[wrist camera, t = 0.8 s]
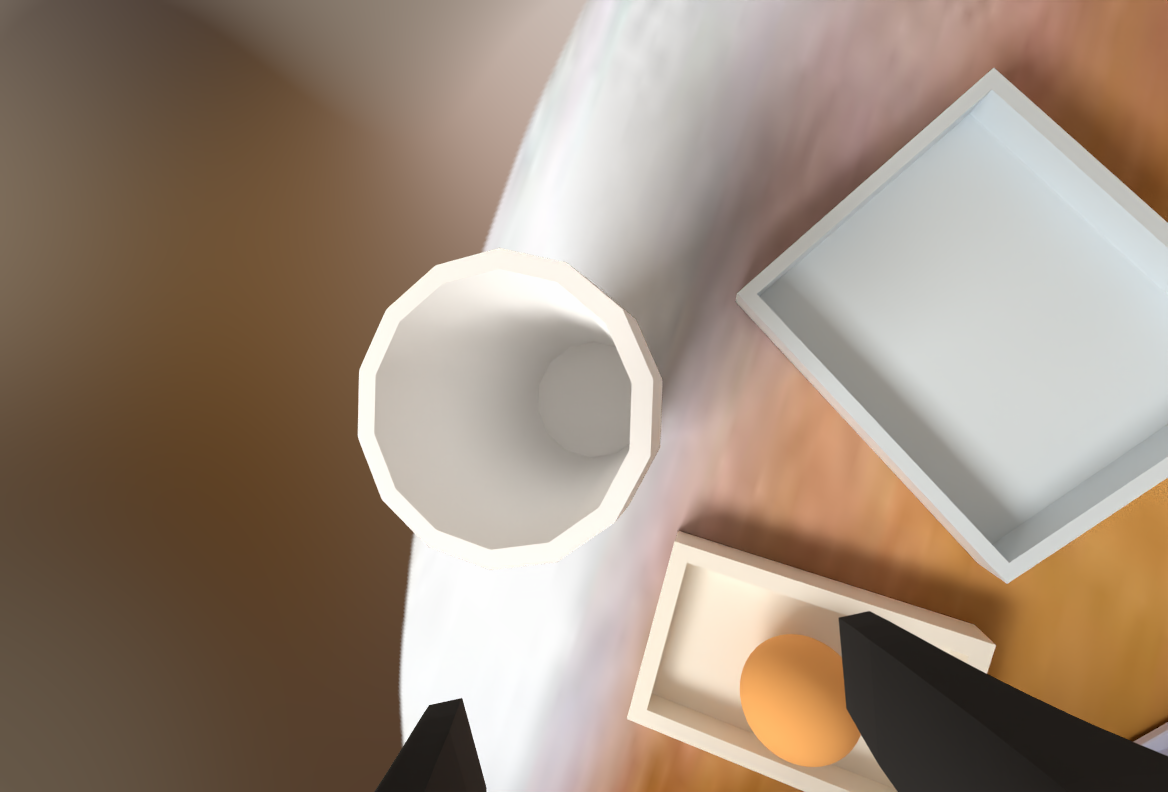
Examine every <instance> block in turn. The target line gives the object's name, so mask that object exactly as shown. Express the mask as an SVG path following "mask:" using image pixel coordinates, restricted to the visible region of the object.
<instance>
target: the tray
mask: <svg viewBox="0 0 1168 792" xmlns="http://www.w3.org/2000/svg"><path fill="white" fill-rule="evenodd" d="M736 303H737V304H738V305H739V306H740V307H741V308H742V309H743V311H744V312H745V313H746V314H747V315H748V316H749V317H750V318H751V319H752V320H753V321H754V322H755V323H756V325H757V326H758V327H759V328H760V329H761V330H762V331H763V332H764V333H765V334H766V335H767V336H768V338H769V339H770V340H771V341H772V342H773V343H774V344H775V345H776V346H777V347H778V348H779V349H780V350H781V352H782V353H783V354H784V355H785V356H786V357H787V358H788V359H789V360H790V361H791V362H792V363H793V364H794V366H795V367H796V368H797V369H798V370H799V371H800V372H801V373H802V374H803V375H804V376H805V377H806V379H807V380H808V381H809V382H810V383H811V384H812V385H813V386H814V387H815V388H816V389H817V390H818V391H819V393H820V394H821V395H822V396H823V397H824V398H825V399H826V400H827V401H828V402H829V403H830V404H831V405H832V407H833V408H834V409H835V410H836V411H837V412H838V413H839V414H840V415H841V416H842V417H843V418H844V419H845V421H846V422H847V423H848V424H849V425H850V426H851V427H852V428H853V429H854V430H855V431H856V432H857V434H858V435H859V436H860V437H861V438H862V439H863V440H864V441H865V442H866V443H867V444H868V445H869V446H870V448H871V449H872V450H873V451H874V452H875V453H876V454H877V455H878V456H879V457H880V458H881V459H882V460H883V462H884V463H885V464H886V465H887V466H888V467H889V468H890V469H891V470H892V471H893V472H894V473H895V475H896V476H897V477H898V478H899V479H900V480H901V481H902V482H903V483H904V484H905V485H906V486H907V487H908V489H909V490H910V491H911V492H912V493H913V494H914V495H915V496H916V497H917V498H918V499H919V500H920V501H921V503H922V504H923V505H924V506H925V507H926V508H927V509H928V510H929V511H930V512H931V513H932V514H933V516H934V517H935V518H936V519H937V520H938V521H939V522H940V523H941V524H942V525H943V526H944V527H945V528H946V530H947V531H948V532H949V533H950V534H951V535H952V536H953V537H954V538H955V539H956V540H957V541H958V542H959V544H960V545H961V546H962V547H963V548H964V549H965V550H966V551H967V552H968V553H969V554H970V555H971V557H972V558H973V559H974V560H975V561H976V562H977V563H978V564H979V565H981V566H982V567H984V568H985V569H987V570H988V571H990V572H991V573H992V574H994V575H995V576H997V577H998V578H1000V579H1001V580H1002V581H1004V582H1005V583H1007V584H1008V583H1009V582H1011V581H1012V580H1014V579H1015V578H1017V577H1018V576H1020V575H1021V574H1023V573H1024V572H1026V571H1027V570H1029V569H1030V568H1032V567H1033V566H1035V565H1036V564H1038V563H1039V562H1041V561H1042V560H1044V559H1045V558H1047V557H1048V556H1050V555H1051V554H1053V553H1054V552H1056V551H1057V550H1059V549H1060V548H1062V547H1063V546H1065V545H1066V544H1068V543H1070V542H1071V541H1073V540H1074V539H1076V538H1077V537H1079V536H1080V535H1082V534H1083V533H1085V532H1086V531H1088V530H1089V529H1091V528H1092V527H1094V526H1095V525H1097V524H1098V523H1100V522H1101V521H1103V520H1104V519H1106V518H1107V517H1109V516H1110V515H1112V514H1113V513H1115V512H1116V511H1118V510H1119V509H1121V508H1122V507H1124V506H1125V505H1127V504H1128V503H1130V502H1131V501H1133V500H1134V499H1136V498H1137V497H1139V496H1140V495H1142V494H1143V493H1145V492H1147V491H1148V490H1150V489H1151V488H1153V487H1154V486H1156V485H1157V484H1159V483H1160V482H1162V481H1163V480H1165V479H1166V478H1168V223H1167V222H1166V221H1165V220H1164V219H1163V218H1162V217H1161V216H1160V215H1158V214H1157V213H1156V212H1155V211H1154V210H1153V209H1152V208H1151V207H1149V206H1148V205H1147V204H1146V203H1145V202H1144V201H1143V200H1142V199H1140V198H1139V197H1138V196H1137V195H1136V194H1135V193H1134V192H1133V191H1132V190H1130V189H1129V188H1128V187H1127V186H1126V185H1125V184H1124V183H1123V182H1121V181H1120V180H1119V179H1118V178H1117V177H1116V176H1115V175H1114V174H1112V173H1111V172H1110V171H1109V170H1108V169H1107V168H1106V167H1105V166H1104V165H1102V164H1101V163H1100V162H1099V161H1098V160H1097V159H1096V158H1095V157H1093V156H1092V155H1091V154H1090V153H1089V152H1088V151H1087V150H1086V149H1084V148H1083V147H1082V146H1081V145H1080V144H1079V143H1078V142H1077V141H1076V140H1074V139H1073V138H1072V137H1071V136H1070V135H1069V134H1068V133H1067V132H1065V131H1064V130H1063V129H1062V128H1061V127H1060V126H1059V125H1058V124H1056V123H1055V122H1054V121H1053V120H1052V119H1051V118H1050V117H1049V116H1048V115H1046V114H1045V113H1044V112H1043V111H1042V110H1041V109H1040V108H1039V107H1037V106H1036V105H1035V104H1034V103H1033V102H1032V101H1031V100H1030V99H1028V98H1027V97H1026V96H1025V95H1024V94H1023V93H1022V92H1021V91H1020V90H1018V89H1017V88H1016V87H1015V86H1014V85H1013V84H1012V83H1011V82H1009V81H1008V80H1007V79H1006V78H1005V77H1004V76H1003V75H1002V74H1000V73H999V72H998V71H997V70H996V69H995V68H993V69H992V70H990V71H989V72H988V73H987V74H986V75H985V76H984V77H982V78H981V79H980V80H979V81H978V82H977V83H976V84H974V85H973V86H972V87H971V88H970V89H969V90H968V91H967V92H965V93H964V94H963V95H962V96H961V97H960V98H959V99H957V100H956V101H955V102H954V103H953V104H952V105H951V106H949V107H948V108H947V109H946V110H945V111H944V112H943V113H941V114H940V115H939V116H938V117H937V118H936V119H935V120H934V121H932V122H931V123H930V124H929V125H928V126H927V127H926V128H924V129H923V130H922V131H921V132H920V133H919V134H918V135H916V136H915V137H914V138H913V139H912V140H911V141H910V142H908V143H907V144H906V145H905V146H904V147H903V148H902V149H901V150H899V151H898V152H897V153H896V154H895V155H894V156H893V157H891V158H890V159H889V160H888V161H887V162H886V163H885V164H883V165H882V166H881V167H880V168H879V169H878V170H877V171H875V172H874V173H873V174H872V175H871V176H870V177H869V178H868V179H866V180H865V181H864V182H863V183H862V184H861V185H860V186H858V187H857V188H856V189H855V190H854V191H853V192H852V193H850V194H849V195H848V196H847V197H846V198H845V199H844V200H842V201H841V202H840V203H839V204H838V205H837V206H836V207H835V208H833V209H832V210H831V211H830V212H829V213H828V214H827V215H825V216H824V217H823V218H822V219H821V220H820V221H819V222H817V223H816V224H815V225H814V226H813V227H812V228H811V229H809V230H808V231H807V232H806V233H805V234H804V235H803V236H802V237H800V238H799V239H798V240H797V241H796V242H795V243H794V244H792V245H791V246H790V247H789V248H788V249H787V250H786V251H784V252H783V253H782V254H781V255H780V256H779V257H778V258H776V259H775V260H774V261H773V262H772V263H771V264H770V265H769V266H767V267H766V268H765V269H764V270H763V271H762V272H761V273H759V274H758V275H757V276H756V277H755V278H754V279H753V280H751V281H750V282H749V283H748V284H747V285H746V286H745V287H743V288H742V289H741V290H740V291H739V292H738V293H737V296H736Z"/></svg>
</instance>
